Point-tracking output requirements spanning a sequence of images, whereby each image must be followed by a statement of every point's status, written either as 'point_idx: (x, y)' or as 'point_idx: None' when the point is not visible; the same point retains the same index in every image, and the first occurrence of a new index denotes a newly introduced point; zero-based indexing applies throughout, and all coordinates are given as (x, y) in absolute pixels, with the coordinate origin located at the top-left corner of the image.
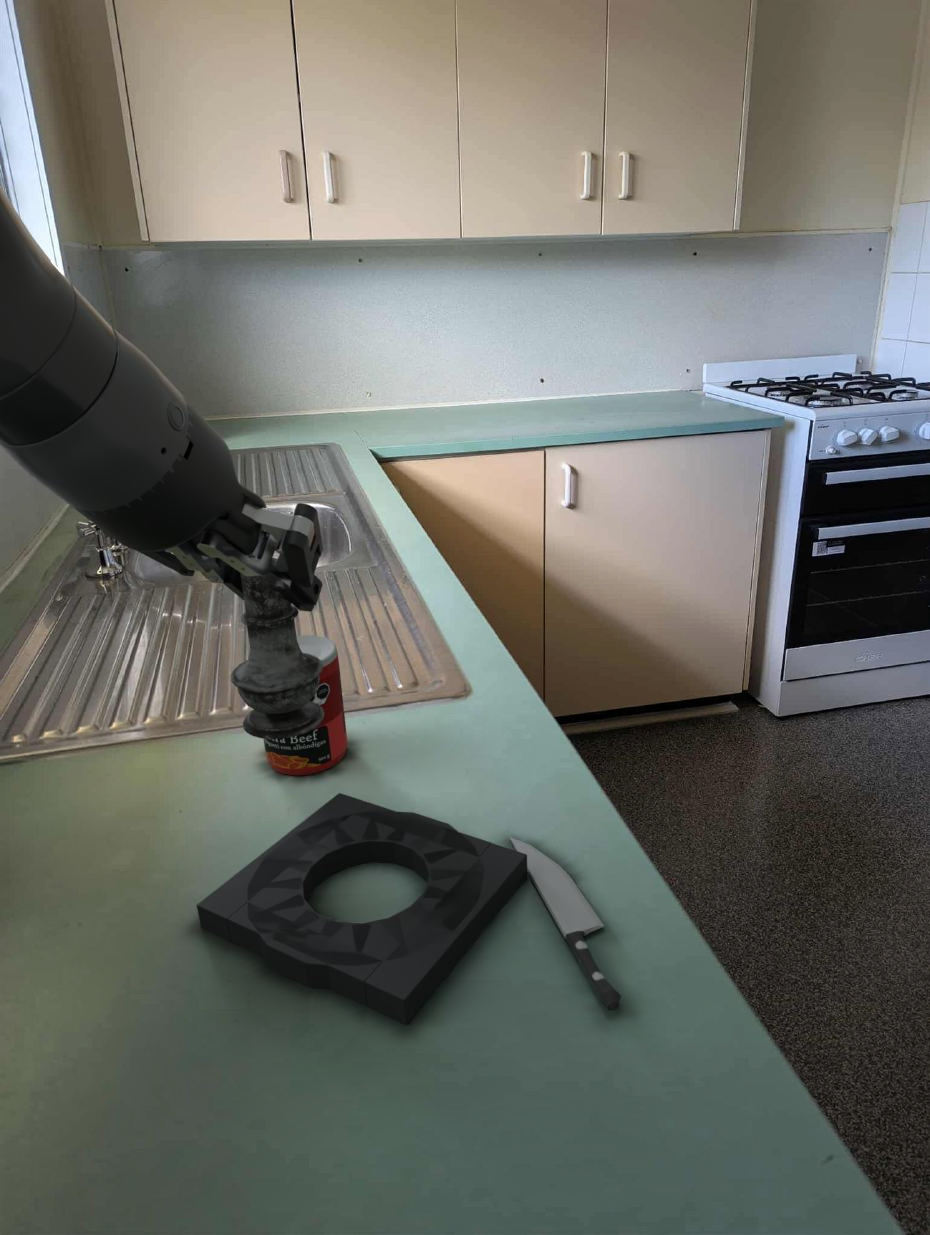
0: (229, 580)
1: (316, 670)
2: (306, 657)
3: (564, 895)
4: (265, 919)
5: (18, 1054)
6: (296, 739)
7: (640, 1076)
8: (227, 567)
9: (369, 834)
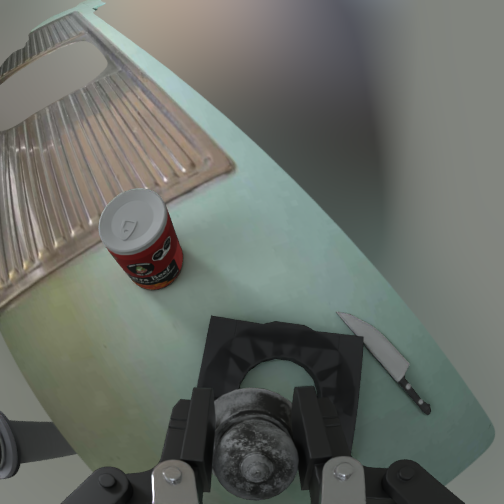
0: (203, 489)
1: None
2: (282, 418)
3: (387, 352)
4: None
5: None
6: (156, 277)
7: (440, 434)
8: (201, 498)
9: (257, 354)
